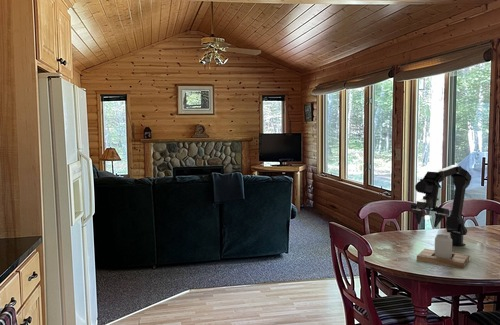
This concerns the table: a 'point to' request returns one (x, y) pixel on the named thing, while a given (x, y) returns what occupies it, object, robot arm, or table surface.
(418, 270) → the table surface
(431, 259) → the pocket board
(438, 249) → the can
